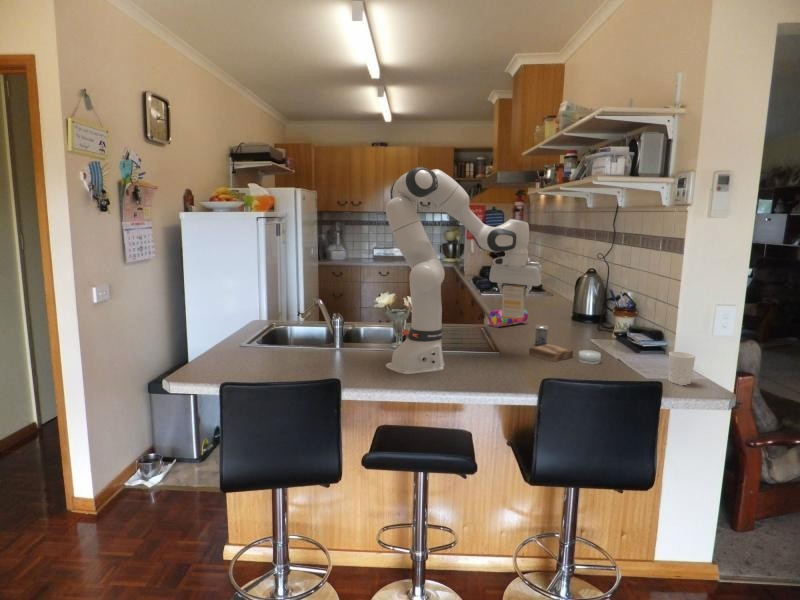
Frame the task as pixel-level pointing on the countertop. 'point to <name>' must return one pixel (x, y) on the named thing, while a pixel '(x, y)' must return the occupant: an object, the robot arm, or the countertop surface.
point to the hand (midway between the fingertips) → (513, 295)
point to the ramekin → (589, 356)
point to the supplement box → (513, 302)
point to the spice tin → (541, 335)
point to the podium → (551, 352)
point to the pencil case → (504, 319)
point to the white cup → (680, 367)
